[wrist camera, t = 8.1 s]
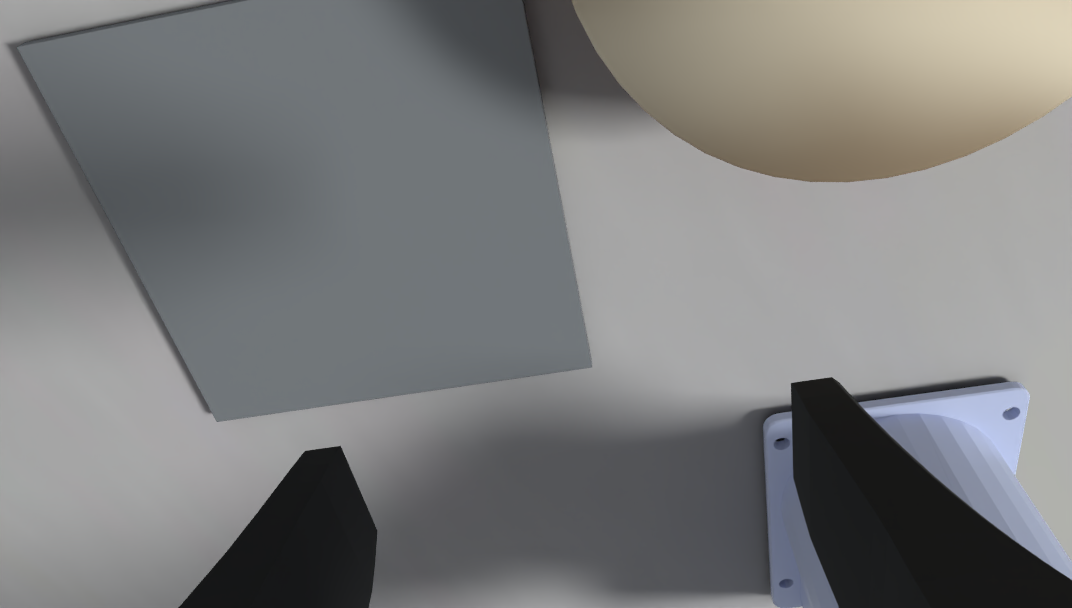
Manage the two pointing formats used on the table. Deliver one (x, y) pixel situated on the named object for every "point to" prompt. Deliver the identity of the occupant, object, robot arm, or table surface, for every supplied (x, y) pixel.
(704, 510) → the table surface
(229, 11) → the mat
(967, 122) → the lid
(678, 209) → the table surface
